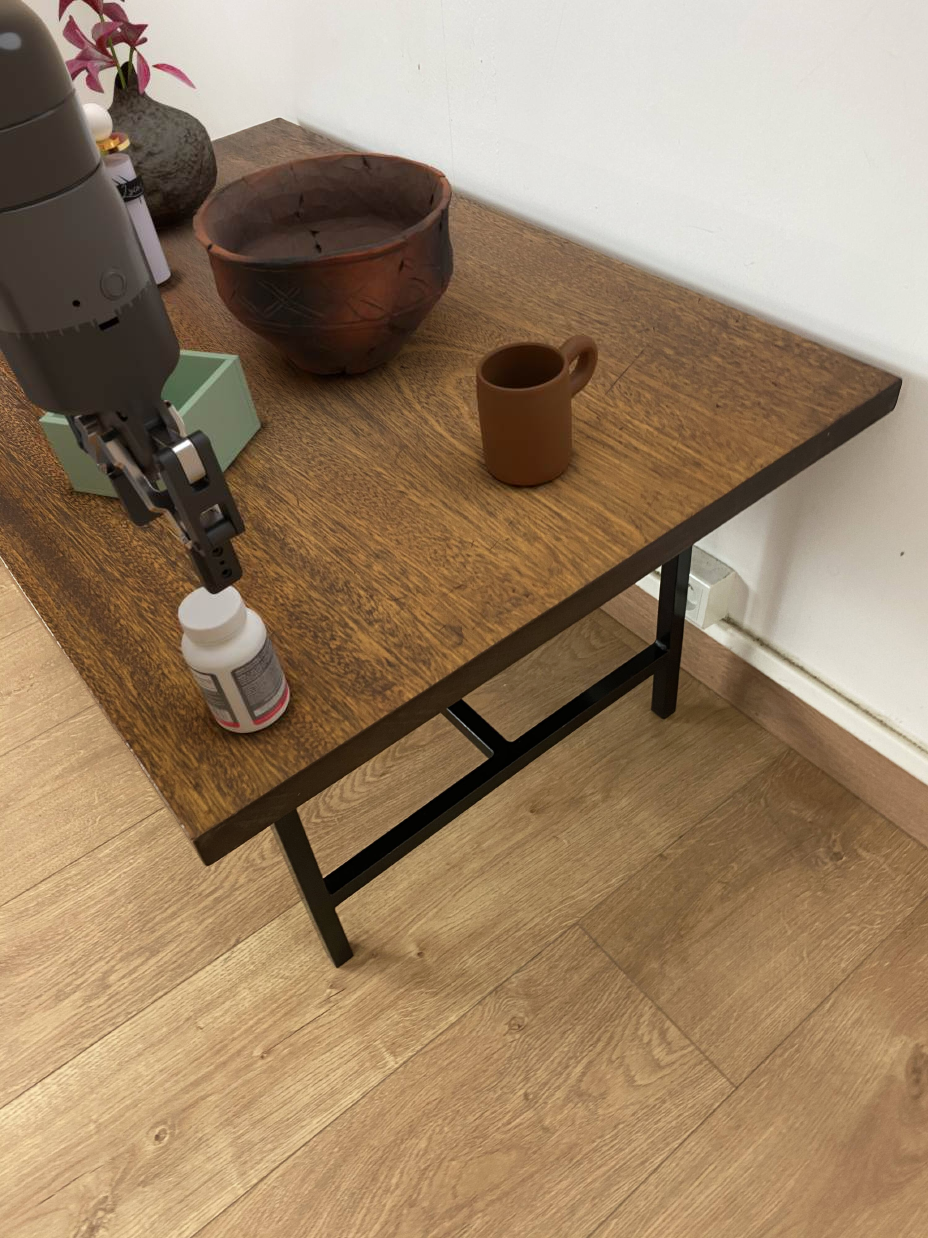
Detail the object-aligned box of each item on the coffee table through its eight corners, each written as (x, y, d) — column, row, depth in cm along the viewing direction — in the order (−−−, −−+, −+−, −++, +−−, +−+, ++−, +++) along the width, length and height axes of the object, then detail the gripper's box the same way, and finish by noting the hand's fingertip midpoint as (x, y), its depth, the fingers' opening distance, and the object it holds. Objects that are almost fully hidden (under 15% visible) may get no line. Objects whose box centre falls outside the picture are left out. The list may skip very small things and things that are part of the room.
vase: (84, 243, 121) (-29, -27, 99) (150, 189, 132) (63, -65, 110) (193, 247, 116) (100, -35, 94) (253, 190, 127) (182, -74, 105)
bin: (192, 510, 78) (162, 437, 73) (74, 490, 82) (37, 420, 76) (261, 426, 86) (238, 354, 81) (150, 412, 90) (121, 343, 84)
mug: (564, 403, 83) (562, 308, 76) (626, 436, 79) (629, 338, 72) (466, 463, 79) (454, 368, 72) (526, 501, 74) (519, 403, 67)
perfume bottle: (120, 288, 110) (49, 109, 95) (157, 268, 113) (93, 91, 98) (150, 298, 107) (81, 115, 93) (187, 277, 110) (125, 96, 95)
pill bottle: (287, 666, 65) (250, 567, 57) (294, 724, 61) (255, 626, 54) (212, 684, 64) (165, 586, 57) (215, 744, 60) (165, 647, 53)
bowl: (515, 310, 96) (505, 161, 85) (376, 436, 83) (343, 278, 72) (336, 270, 107) (306, 134, 96) (188, 375, 94) (134, 231, 83)
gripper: (-72, 272, 43) (74, 529, 55) (54, 373, 35) (193, 649, 47) (72, 213, 46) (180, 469, 58) (218, 294, 38) (309, 571, 50)
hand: (186, 549), depth 52 cm, fingers open, 8 cm apart
